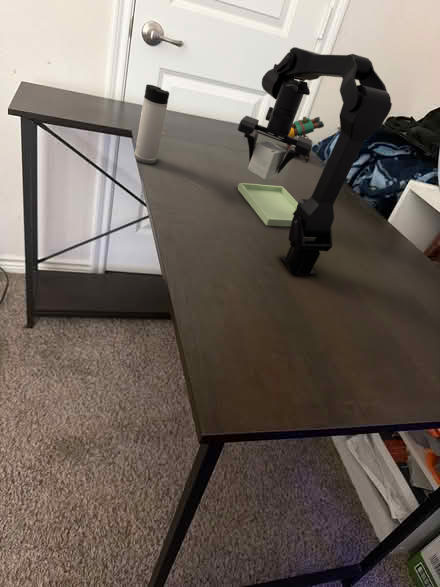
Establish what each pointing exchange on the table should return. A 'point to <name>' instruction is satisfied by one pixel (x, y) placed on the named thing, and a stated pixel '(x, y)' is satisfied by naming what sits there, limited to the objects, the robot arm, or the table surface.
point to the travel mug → (151, 124)
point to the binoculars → (305, 128)
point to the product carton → (266, 159)
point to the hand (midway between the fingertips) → (264, 167)
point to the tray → (270, 203)
